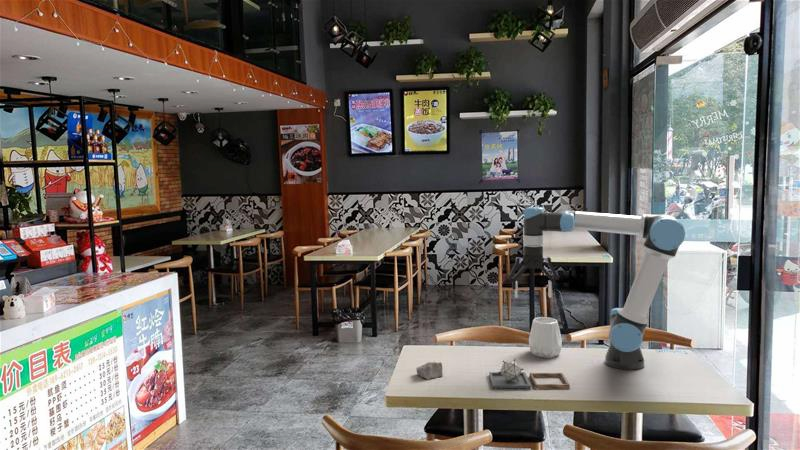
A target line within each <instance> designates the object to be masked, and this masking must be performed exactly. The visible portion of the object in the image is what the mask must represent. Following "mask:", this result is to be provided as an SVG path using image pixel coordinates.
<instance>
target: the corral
mask: <svg viewBox="0 0 800 450" xmlns="http://www.w3.org/2000/svg"><path fill="white" fill-rule="evenodd" d="M529 378H530V381H531V383H532V384H533V386H534V389H537V390H538V389H539V390H540V389H541V390H544V389H545V390H546V389H547V390H548V389H550V390H552V389H553V390H555V389H556V390H564V389H565V390H568V389H570V388H571V386H570V383H569V382H568V380H567V378H566V377H565V375H564V373H563V372H529ZM535 378H560V379H561V381H562V382H563V383H537V381H536V379H535Z"/></svg>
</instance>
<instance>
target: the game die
mask: <svg viewBox="0 0 800 450" xmlns="http://www.w3.org/2000/svg"><path fill="white" fill-rule="evenodd" d="M522 371H524V368H522V367H520V366H519V364H518V363H517V362H516V358H514V359H513V360H510V361H505V360H502V366H501V368H500V370H499V371H497V372H498V373H501V374H502V375H503V377H504V378H505V379H506V380H507V381H506V383H508V381H512V380H517V381H519V380H518V377H519V375H520V373H521V372H522Z"/></svg>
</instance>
